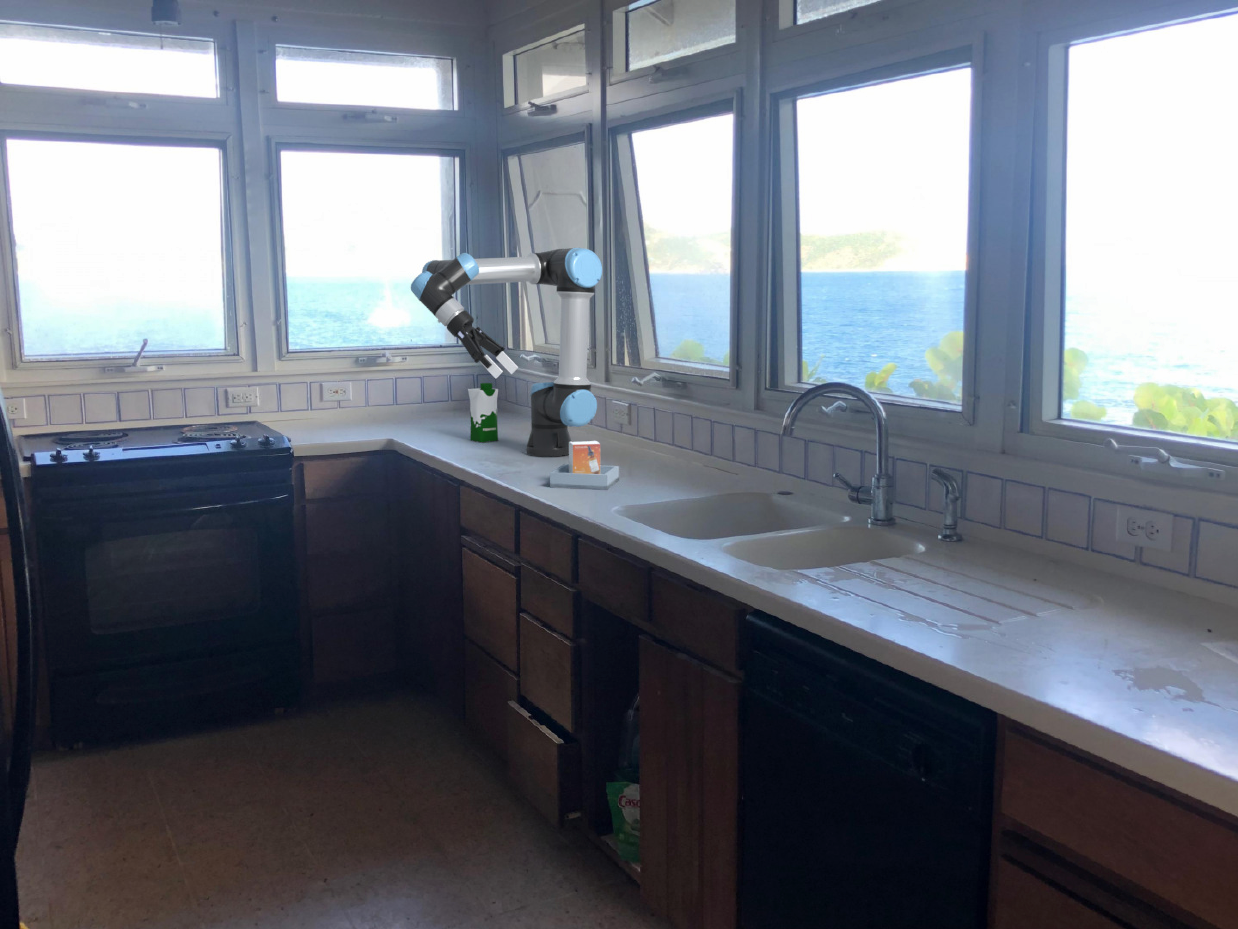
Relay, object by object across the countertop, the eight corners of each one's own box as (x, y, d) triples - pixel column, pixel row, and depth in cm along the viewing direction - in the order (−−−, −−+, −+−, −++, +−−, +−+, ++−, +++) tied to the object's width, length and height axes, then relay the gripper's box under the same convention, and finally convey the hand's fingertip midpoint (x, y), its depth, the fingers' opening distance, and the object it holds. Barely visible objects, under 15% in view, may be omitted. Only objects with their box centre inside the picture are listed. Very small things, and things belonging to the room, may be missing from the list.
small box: (572, 482, 295) (571, 444, 293) (568, 478, 300) (568, 441, 298) (600, 481, 296) (600, 443, 295) (596, 477, 302) (596, 440, 300)
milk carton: (480, 443, 369) (479, 384, 366) (466, 440, 376) (464, 382, 372) (501, 440, 375) (500, 383, 371) (487, 437, 381) (486, 381, 378)
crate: (564, 477, 307) (563, 464, 306) (618, 480, 303) (618, 466, 302) (550, 487, 293) (549, 472, 292) (607, 489, 290) (607, 475, 289)
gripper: (462, 325, 317) (512, 378, 316) (429, 330, 293) (483, 386, 292) (479, 307, 315) (529, 360, 314) (447, 310, 291) (501, 367, 290)
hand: (507, 373), depth 303 cm, fingers open, 13 cm apart
